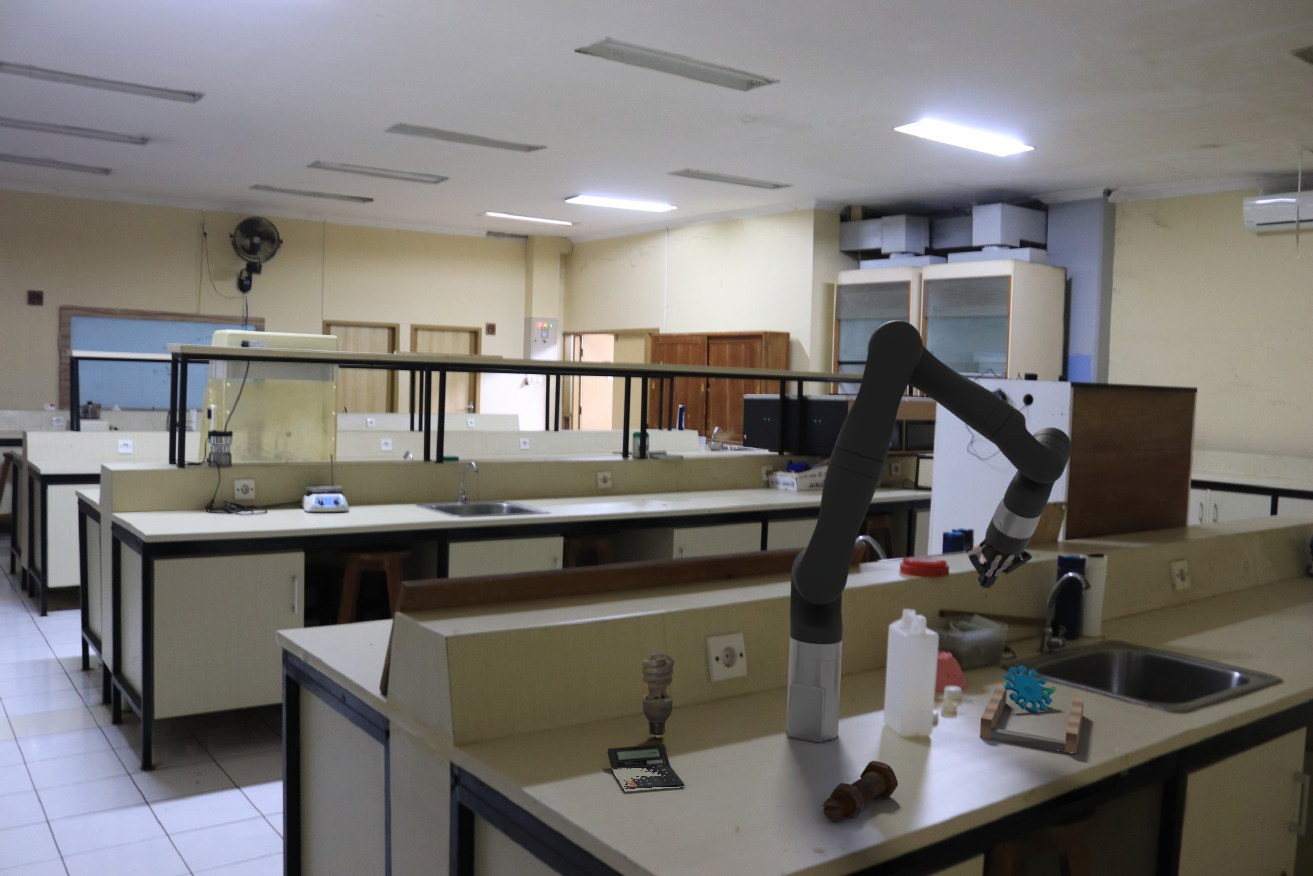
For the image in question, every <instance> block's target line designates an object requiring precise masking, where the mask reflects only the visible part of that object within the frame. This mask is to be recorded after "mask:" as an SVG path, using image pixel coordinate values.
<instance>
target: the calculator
mask: <svg viewBox="0 0 1313 876" xmlns="http://www.w3.org/2000/svg"><path fill="white" fill-rule="evenodd" d="M607 756H608V760H609V761H608V762H609V764H610V765H609V766H610V768H611V767H612V768H613V769H618V768H620V769H621V768H627V769H628V768H630V769H631V768H642V769H644V768H646V769H647V770H648V771H645V772H649V771H650V770H651V769H652V770H653V771H650V772H653V773H655V772H658V773H657V774H658V775H659V774H661V776H650V777H647V776H641V778H640V779H633V778H631V779H633V780H632V781H626V784H625V785H628V784H630V785H629V786H624V787H627V788H625V789H628V788H629V789H635V788H652V787H678V786H679V787H680V786H681V787H682V786H684V787H685V782H684V781H683V780H682V778H680V776H679V775H678V773H677V772H676V771H675V770H674V769H673V767H672V766H671V764H670V761H669V757H668V754H667V750H666V748H665V744H654V745H652V744H649V745H636V746H623V747H622V746H621V747H610V748H609V747H608V748H607ZM653 767H654V768H653ZM657 770H658V771H657ZM641 771H642V770H641ZM653 773H652V774H653ZM664 775H665V776H664ZM636 777H639V776H636ZM642 778H645V779H642ZM635 780H637V781H635ZM624 781H625V780H624ZM627 782H630V783H627ZM633 783H634V784H633Z"/></svg>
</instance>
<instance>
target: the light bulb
mask: <svg viewBox="0 0 1313 876" xmlns="http://www.w3.org/2000/svg"><path fill="white" fill-rule="evenodd" d="M649 655H650V657H649V658H648V659H643V660H642V662H641V665H642V666H643V667H642V668H641V673H642V674H643V677H642V681H643V682H644V683H646V684H648V685H647V690H648V693H646V694H645V695H643V696H642V713H643V715H644V717H646V720H647V721H648V734H650V735H652V734H653V736H654V735H662V734H663V735H664V734H665V733H666V721H667V720H668V719H669V717H670V716H671V715H672V711H673V710H672V709H673V701H674V700H673V696H672V695H670V694H668V693H667V687H669V686H670V685H671V684H672V682H673V677H672V676H673V674H674V665H675V661H674V659H673V657H671V656H669V655H667V654H665V653H662V652H658V651H657V652H652V653H651V654H649ZM663 735H662V736H663Z"/></svg>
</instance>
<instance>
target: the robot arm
mask: <svg viewBox="0 0 1313 876" xmlns="http://www.w3.org/2000/svg"><path fill="white" fill-rule="evenodd" d="M908 385H909V386H911V387H913V388H915V389H916V390H918V391H919V392H922V393H923V394H925V395H926V396H928V397H929V398H930V399H932V400H934V401H935V402H936V403H938V404H939V405H940V406H941V407H943V408H944V409H946V410H947V411H949V412H950V413H951V414H952V415H954V416H955V417H956V418H958V419H959V420H960V421H961V422H963V423H964V424H966V425H967V426H968V427H970V429H972V430H973V431H975V432H977V433H978V434H979V435H981V436H982V437H984V438H985V439H986V440H988V441H990V442H991V443H992V444H994V445H995V446H996V447H997V448H998V450H999V451H1000V452H1001V454H1002V455H1004V457H1005V458H1007V460H1008V461H1009V462H1010V463H1011V465H1012V466H1013V467H1014V468H1015V469H1017V471H1016V473H1014V476H1013V477H1012V478H1011V481H1009V484H1008V486H1007V488H1006V490H1005V493H1004V495H1003V497H1002V498H1001V500H1000V502H999V503H998V505H997V506H996V509H995V510H994V513H993V515H992V517H991V519H990V522H989V524H988V526H987V529H986V531H985V536H984V539H983V540H982V541H981V542H979V545H978V546H979V547H976V548H974V549H972V548H971V547H967V548H966V549H965V553H966V555H967V558H968V559H969V561H970V563H971V565H972V566H973V567H974V569H975V570H976V572H977V573H978V574H979V575H978V577H977V581H978V583H979V586H981V588H982V589H990V588H991V587H992V586H993V585H994V584H995V582H996V580H997V579H998V577H1000V575H1002V574H1005V575H1008V574H1010V573H1011V572H1014V571H1015V570H1016V569H1018V568H1020V567H1021V566H1023V565H1024V564H1026V563H1027V562H1030V561H1031V560H1032V558H1033V557H1032V554H1031V553H1030V550H1029V549H1028V547H1027V546H1028V544H1029V543H1030V540H1031V538H1032V537H1033V534H1034V533H1035V531H1036V529H1037V527H1038V525H1039V522H1040V521H1041V520H1040V519H1041V515H1042V514H1043V511H1044V510H1045V507H1046V505H1047V504H1048V502H1049V499H1050V496H1051V494H1052V491H1053V488H1054V485H1055V483H1056V481H1058V480H1059V479H1060V478H1061V477H1062V475H1063V474H1064V471H1065V469H1066V466H1067V463H1068V462H1069V459H1070V456H1071V454H1072V448H1073V447H1072V442H1071V439H1070V437H1069V436H1068V435H1067V434H1066V433H1065V432H1064V431H1063V430H1061V429H1060V428H1056V427H1051V426H1049V427H1045V428H1041V429H1040V430H1038V431H1036V432H1035V433H1033V434H1032V433H1031V432H1030V431H1028V429H1027V426H1026V425H1027V424H1026V417H1025V415H1024V414H1023V413H1022V412H1021V411H1020V410H1018V409H1017V408H1016V407H1014V406H1013V405H1011V404H1010V403H1008V402H1007V401H1006V400H1004V399H1003V398H1001V397H1000V396H998V395H997V394H996V393H994V392H992V391H991V390H989V389H988V388H986V387H984V386H982V385H981V384H979V383H978V382H975V381H973V380H972V379H970V378H968V377H966V376H965V375H963V374H961V373H959V372H958V371H955V370H954V369H953V368H951V367H949V366H948V365H947V364H945V363H944V362H942V361H941V360H940V359H939V358H937V357H936V356H935V355H934V354H933V353H932V352H931V351H929V349H927V348H926V346H924V344H923V339H922V336H921V334H920V332H919V330H918V329H917V328H916V327H915V326H914V325H913V324H911V323H909V322H908V321H905V320H901V319H897V320H896V319H895V320H890V321H888V322H884V323H883V324H881V325H879V326H878V327H876V329H874V331H873V333H872V334H871V336H870V338H869V341H868V344H867V357H866V361H865V366H864V370H863V375H862V379H861V382H860V385H859V389H858V392H857V395H856V397H855V399H854V402H853V404H852V405H851V407H850V409H849V411H848V414H847V415H846V418H845V419H844V422H843V425H842V426H841V428H840V431H839V433H838V436H837V439H836V440H835V444H834V447H833V449H832V452H831V455H830V459H829V462H828V464H827V468H826V472H825V477H824V482H823V487H822V491H821V498H820V499H821V500H820V505H819V512H818V519H817V521H816V523H815V526H814V527H815V528H814V530H813V532H812V535H811V538H810V540H809V542H808V545H807V547H806V548H805V549H803V550H802V551H800V552H798V554H797V555H796V557H795V558H794V561H793V562H792V566H791V575H790V576H791V577H790V605H789V606H790V607H789V621H790V622H789V624H790V625H789V626H790V629H789V631H790V632H789V634H790V635H789V652H788V653H789V655H788V656H789V657H788V658H789V659H788V674H787V675H788V676H787V679H788V680H787V697H786V699H787V702H786V703H787V704H786V725H785V728H786V729H785V730H786V732H787V737H789V738H795V739H799V740H805V741H810V742H816V743H820V744H821V743H823V742H825V741H831V740H834V739H836V738H837V737H838V736H839V721H840V699H841V697H840V696H841V695H840V694H841V672H842V654H843V653H842V651H843V650H842V649H843V647H842V646H843V629H844V628H843V612H842V606H843V605H842V603H843V602H842V601H843V600H842V599H843V592H844V591H845V588H846V585H847V583H848V578H849V573H850V568H851V563H852V562H851V561H852V557H853V554H854V550H855V545H856V542H857V538H858V536H859V532H860V530H861V527H862V525H863V522H864V520H865V517H866V515H867V513H868V510H869V507H870V505H871V503H872V500H873V499H874V498H873V497H874V495H875V492H876V489H877V487H878V485H879V482H880V479H881V477H882V473H883V470H884V467H885V464H886V461H887V458H888V454H889V450H890V447H891V443H892V439H893V434H894V431H895V425H896V422H897V421H896V420H897V416H898V411H899V408H900V404H901V402H902V398H903V396H904V394H905V392H906V389H907V387H908ZM981 555H983V561H982V562H981V557H982V556H981ZM1011 562H1012V563H1011ZM1010 563H1011V564H1010Z"/></svg>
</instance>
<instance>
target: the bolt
mask: <svg viewBox="0 0 1313 876" xmlns="http://www.w3.org/2000/svg"><path fill="white" fill-rule="evenodd" d="M859 777H860V778H859V779H857V780H855V781H854V782H852V783H851V784H850V783H848V782H847V783H846V782H840V783H839V784H837V786H835V788H834V789H833V791H832V792H831V794H830V796H829V797H828V798H827V799H826V800H825V801H824V802H823V804H822V812H823V815H824V816H825V817H826V819H829V820H830V821H832V822H837V821H840V820H842V819H843V818H847V817H848V818H847V819H855V816H856V817H857V816H858V815H859V814H860V812H861V811H862V809H863V808H864V806H865V804H867V802H870V800H873V798H875V797H878V798H879V799H884V800H888V799H889V798H890V797H891V796H892V795H893V794H894V792H895V790H896V789H897V787H898V786H899V783H898V780H897V775H896V774H895V771H894V770H893V768H892V767H891V766H890V765H889V764H887V763H885V762H883V761H878V760H871V761H869V762H868V764H867V765H866V767H865V768H864V769H863V771H862V772H861V774H860V775H859Z"/></svg>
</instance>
